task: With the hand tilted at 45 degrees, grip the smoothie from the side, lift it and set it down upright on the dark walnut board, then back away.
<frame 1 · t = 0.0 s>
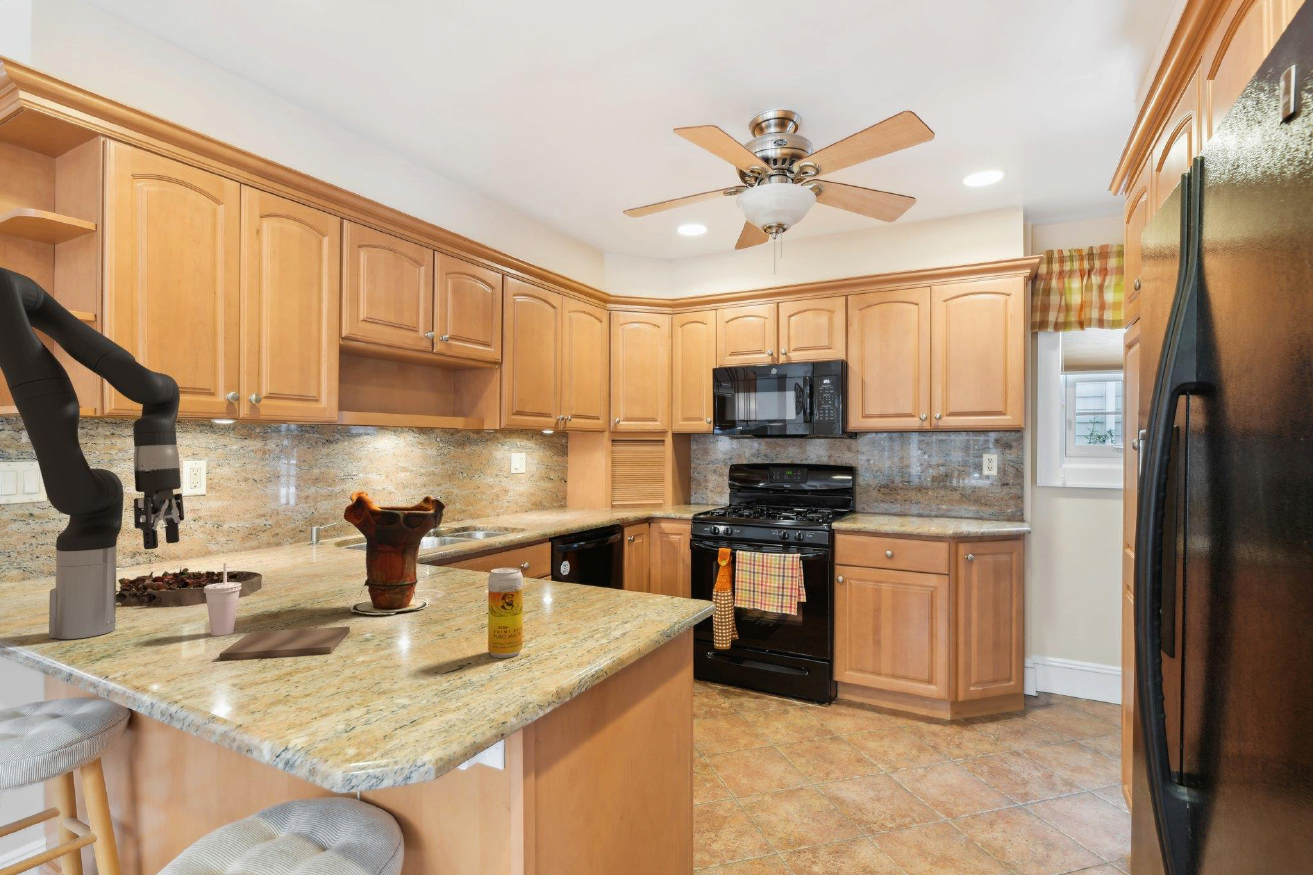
hand: (162, 545, 134), 17 cm above the countertop, fingers open, 8 cm apart
smoothie: (222, 634, 131), on the countertop
food dish: (188, 595, 169), on the countertop
decorative vase: (394, 607, 153), on the countertop
beer can: (505, 654, 118), on the countertop
walnut board: (289, 645, 123), on the countertop
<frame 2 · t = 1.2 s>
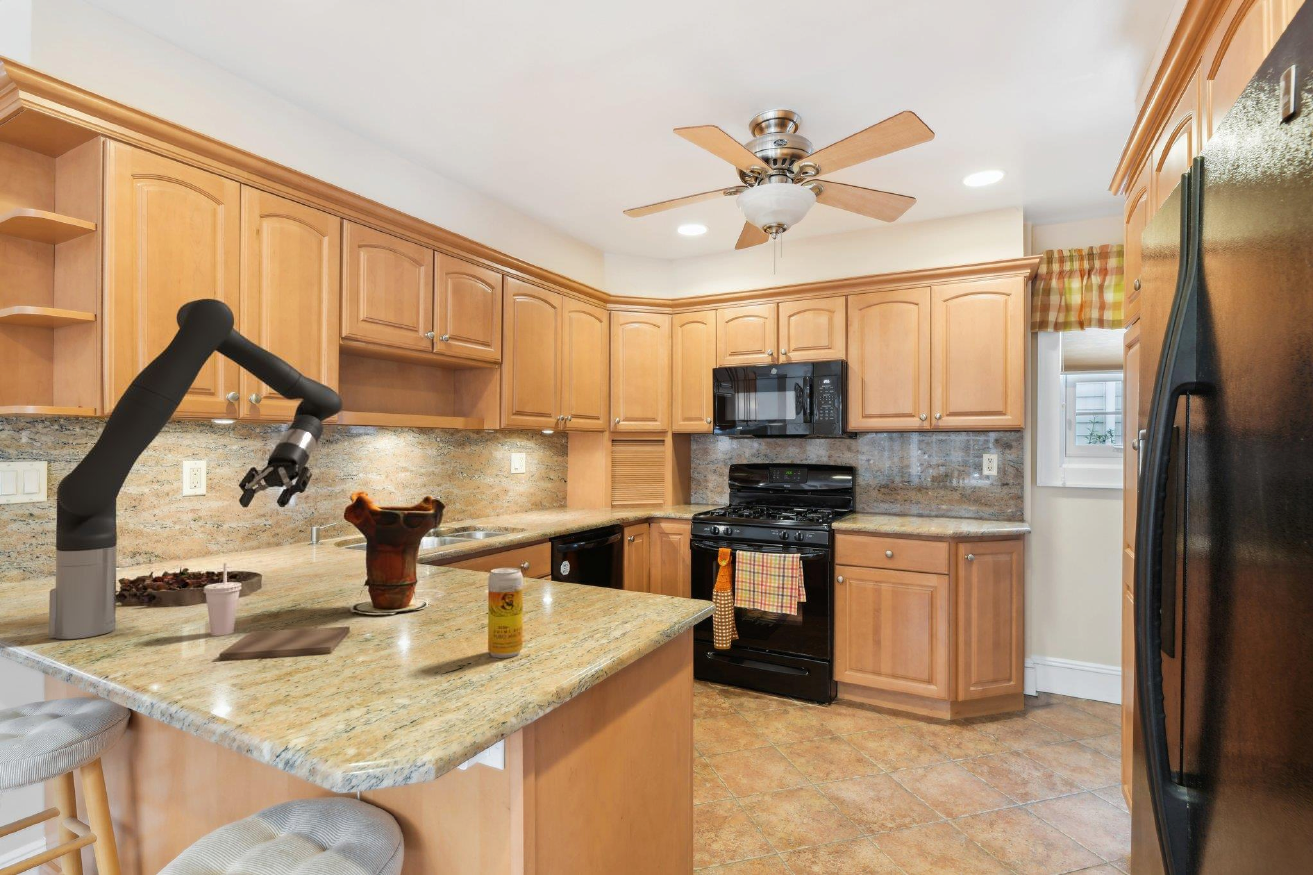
hand: (261, 505, 143), 25 cm above the countertop, fingers open, 8 cm apart
nothing on the countertop moved.
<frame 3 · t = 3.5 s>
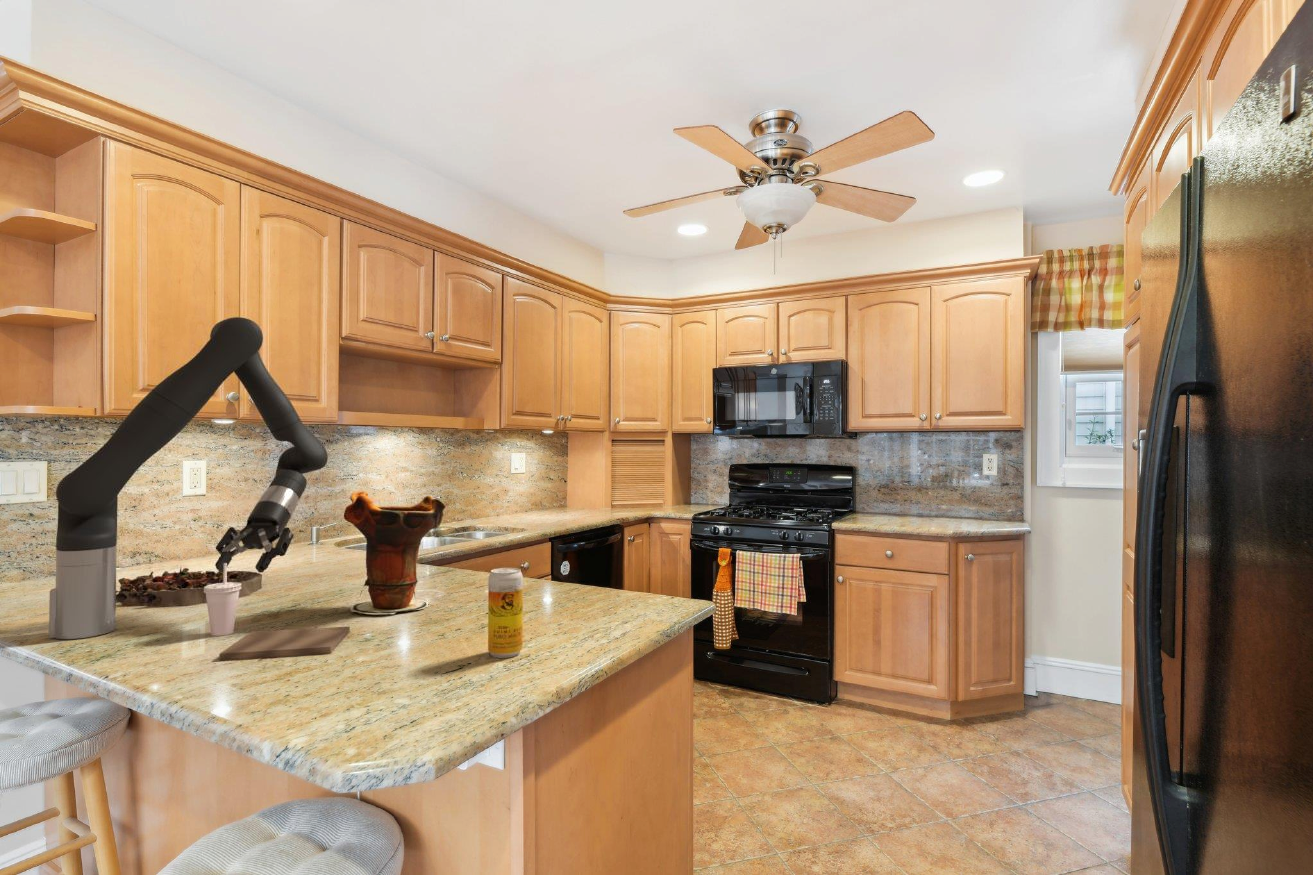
hand: (239, 570, 136), 12 cm above the countertop, fingers open, 8 cm apart
nothing on the countertop moved.
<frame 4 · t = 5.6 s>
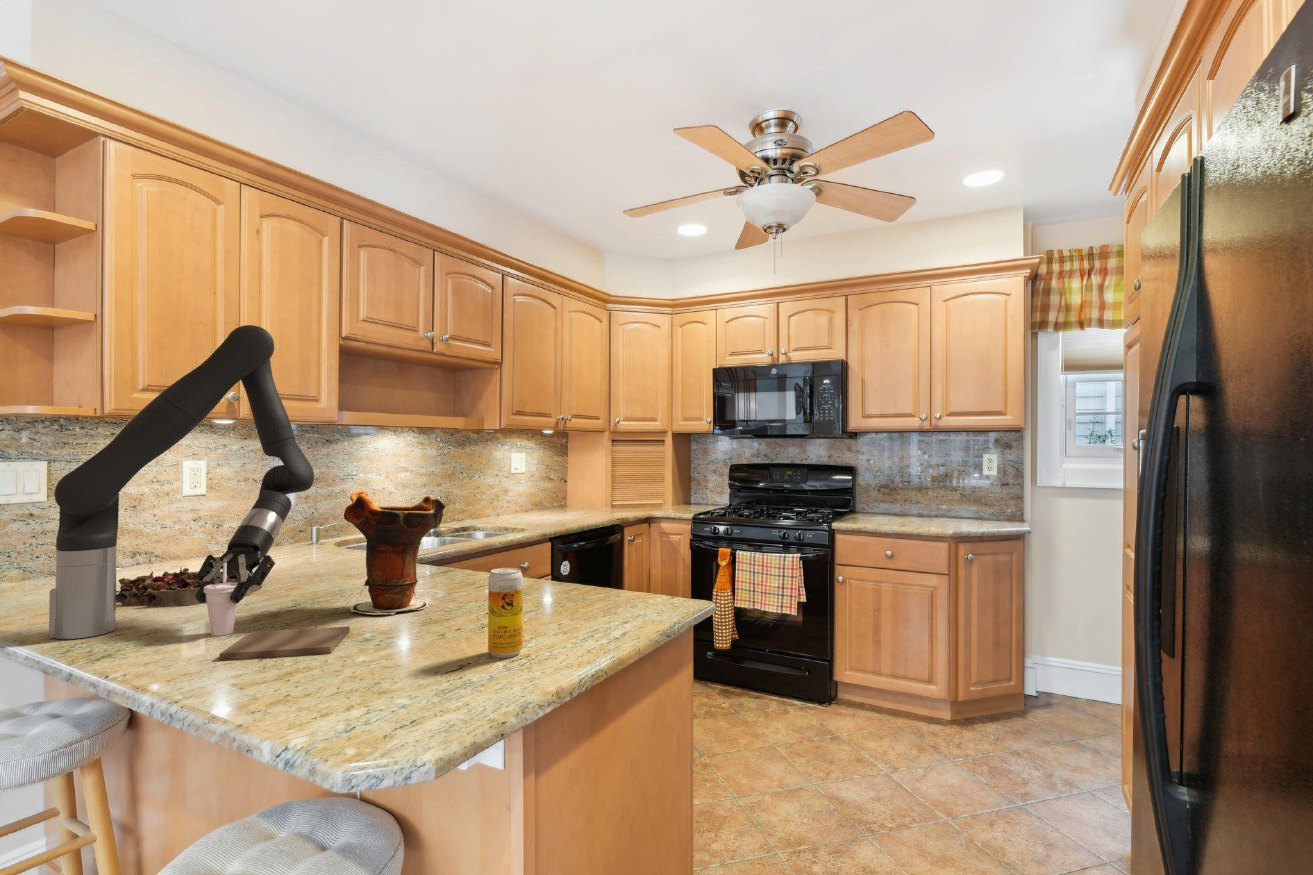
hand: (216, 600, 130), 7 cm above the countertop, fingers closed on smoothie, 6 cm apart
smoothie: (222, 634, 131), on the countertop, touching gripper
everything else where it was.
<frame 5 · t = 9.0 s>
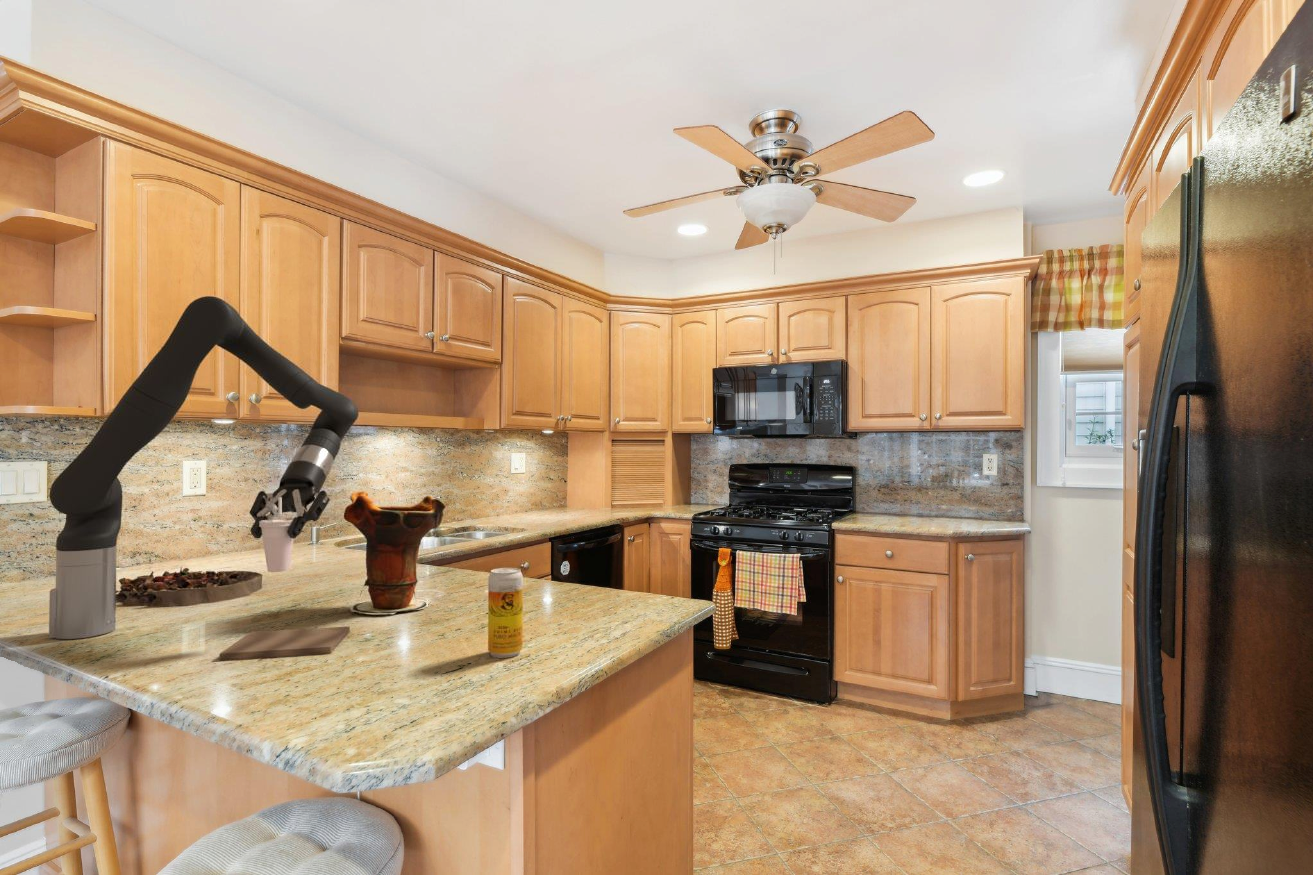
hand: (273, 535, 124), 21 cm above the countertop, fingers closed on smoothie, 6 cm apart
smoothie: (278, 571, 126), point 14 cm above the countertop, touching gripper
everything else where it was.
when the fingers open (9 cm above the countertop, at t = 12.5 s): smoothie drops 1 cm, resting on walnut board.
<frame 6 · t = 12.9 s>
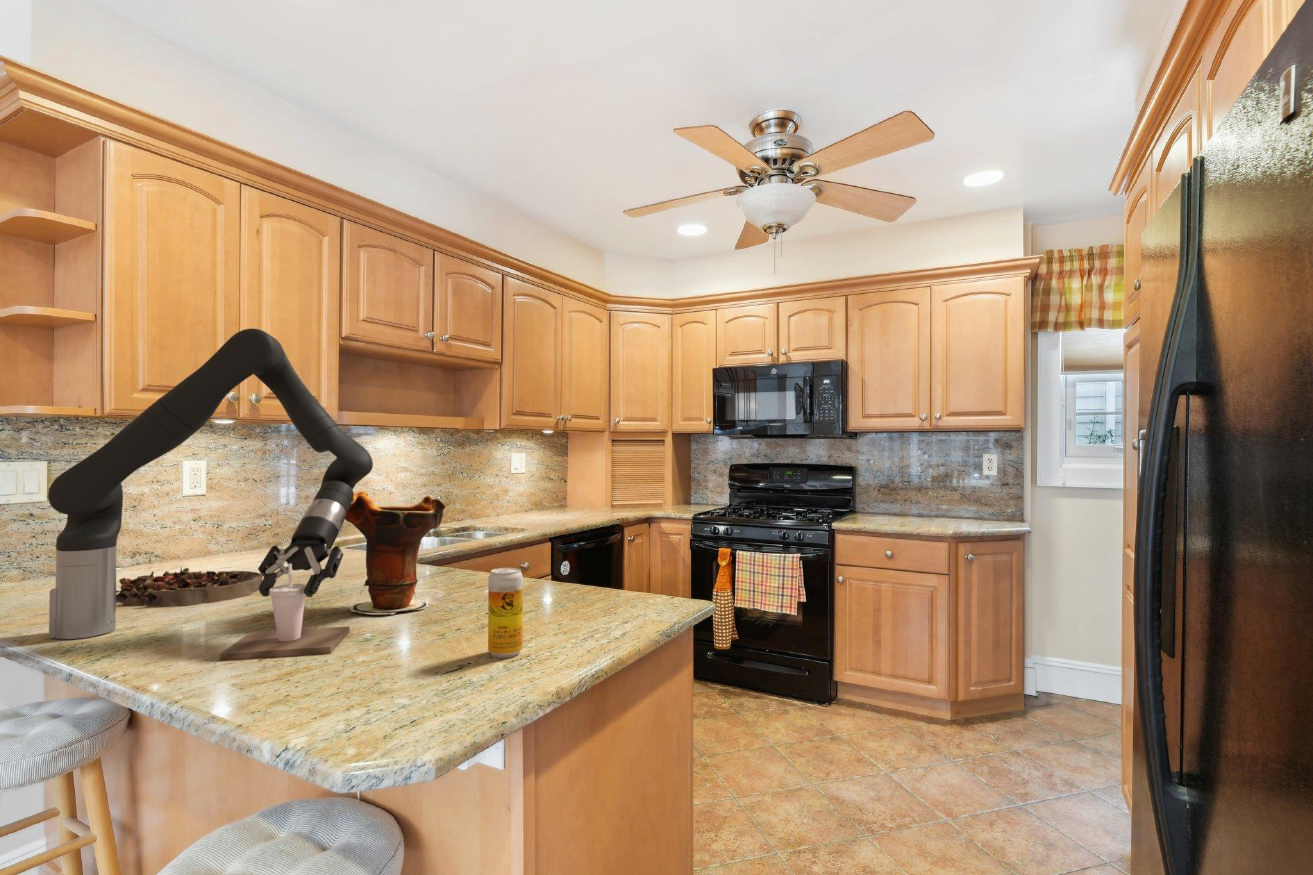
hand: (285, 594, 122), 10 cm above the countertop, fingers open, 8 cm apart
smoothie: (289, 639, 123), point 1 cm above the countertop, touching walnut board
everything else where it was.
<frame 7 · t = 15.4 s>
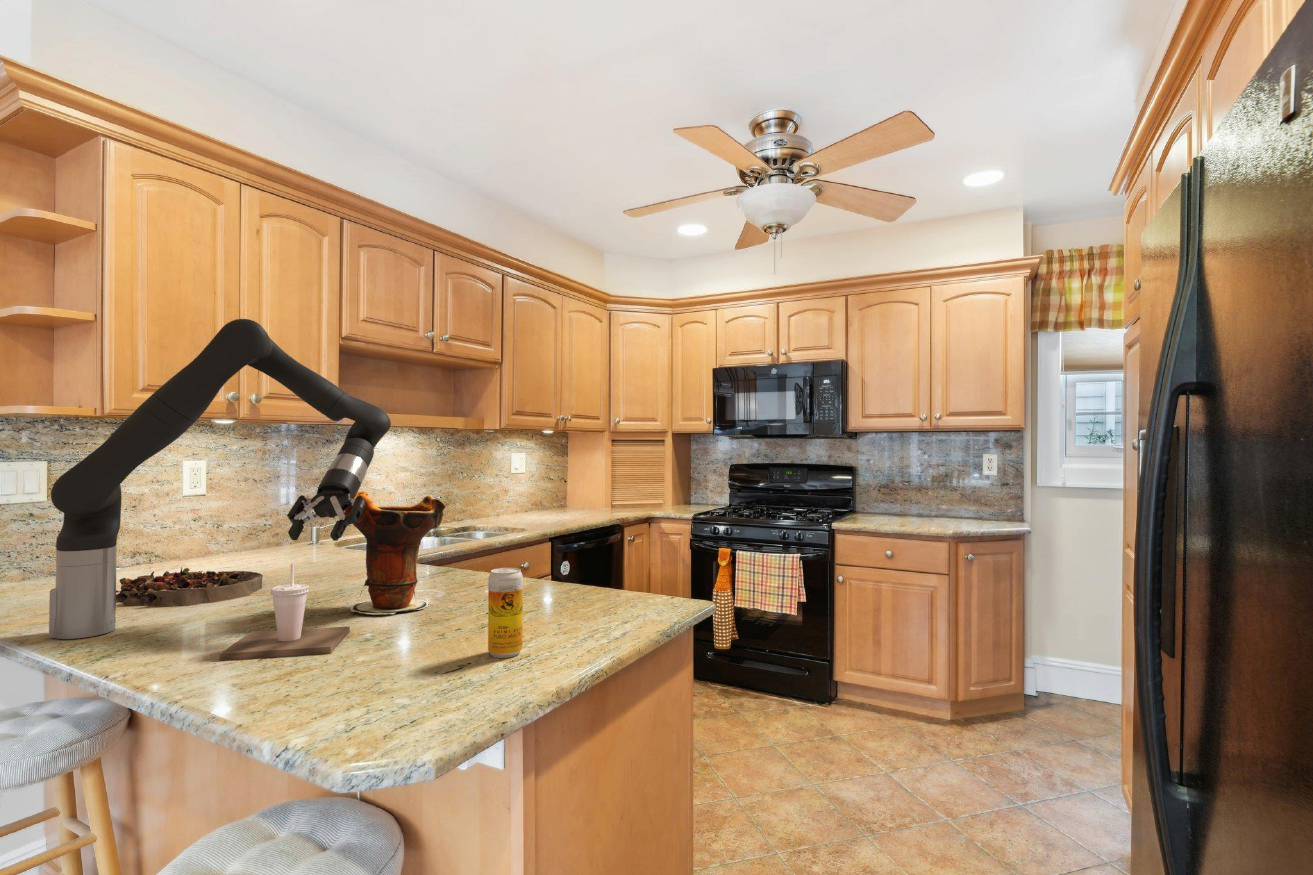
hand: (313, 538, 131), 19 cm above the countertop, fingers open, 8 cm apart
nothing on the countertop moved.
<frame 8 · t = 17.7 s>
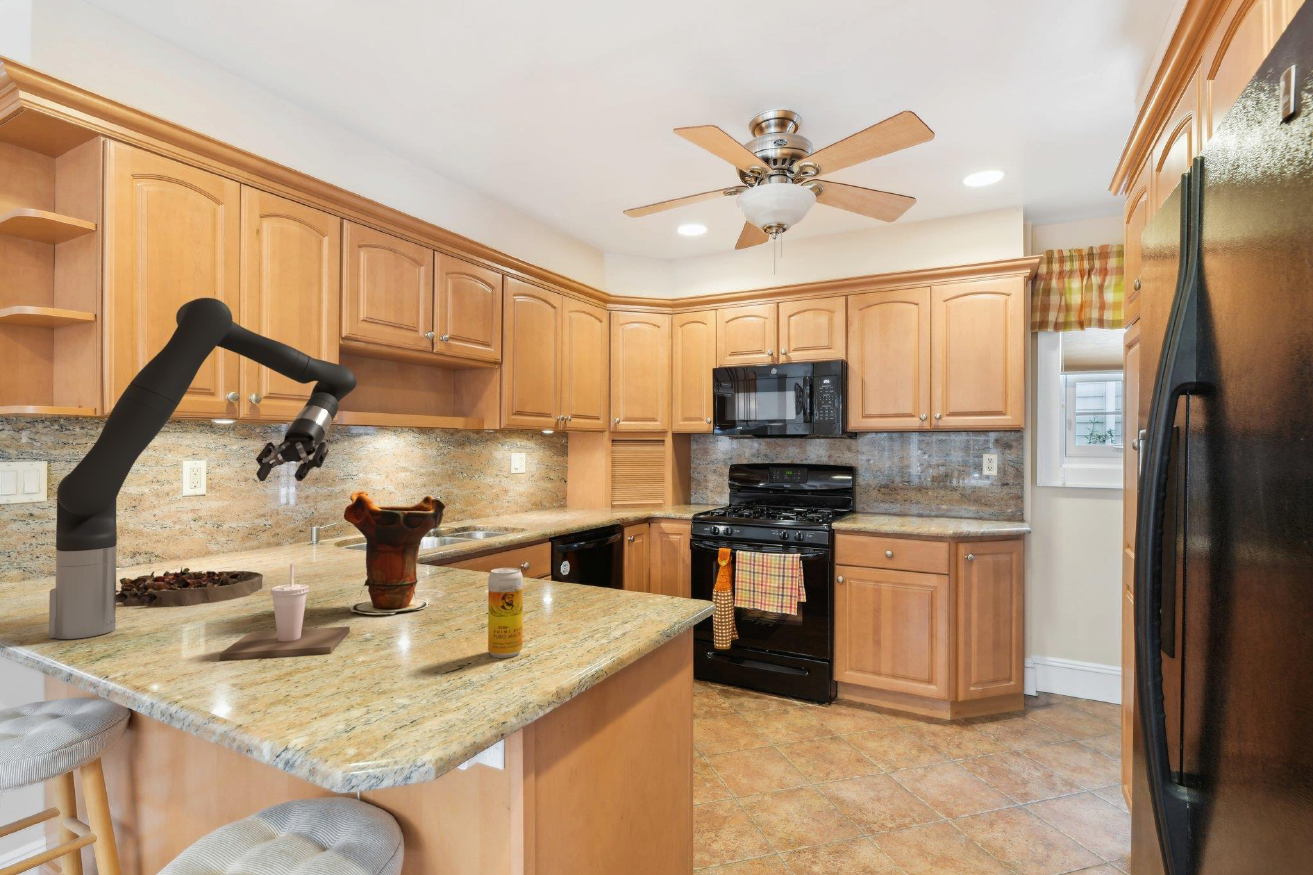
hand: (278, 478, 144), 31 cm above the countertop, fingers open, 8 cm apart
nothing on the countertop moved.
at the end: smoothie inside the target area on the walnut board (0.3 cm from its centre), point 1.0 cm above the walnut board's base; smoothie tilted 0°; the gripper is holding nothing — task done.
